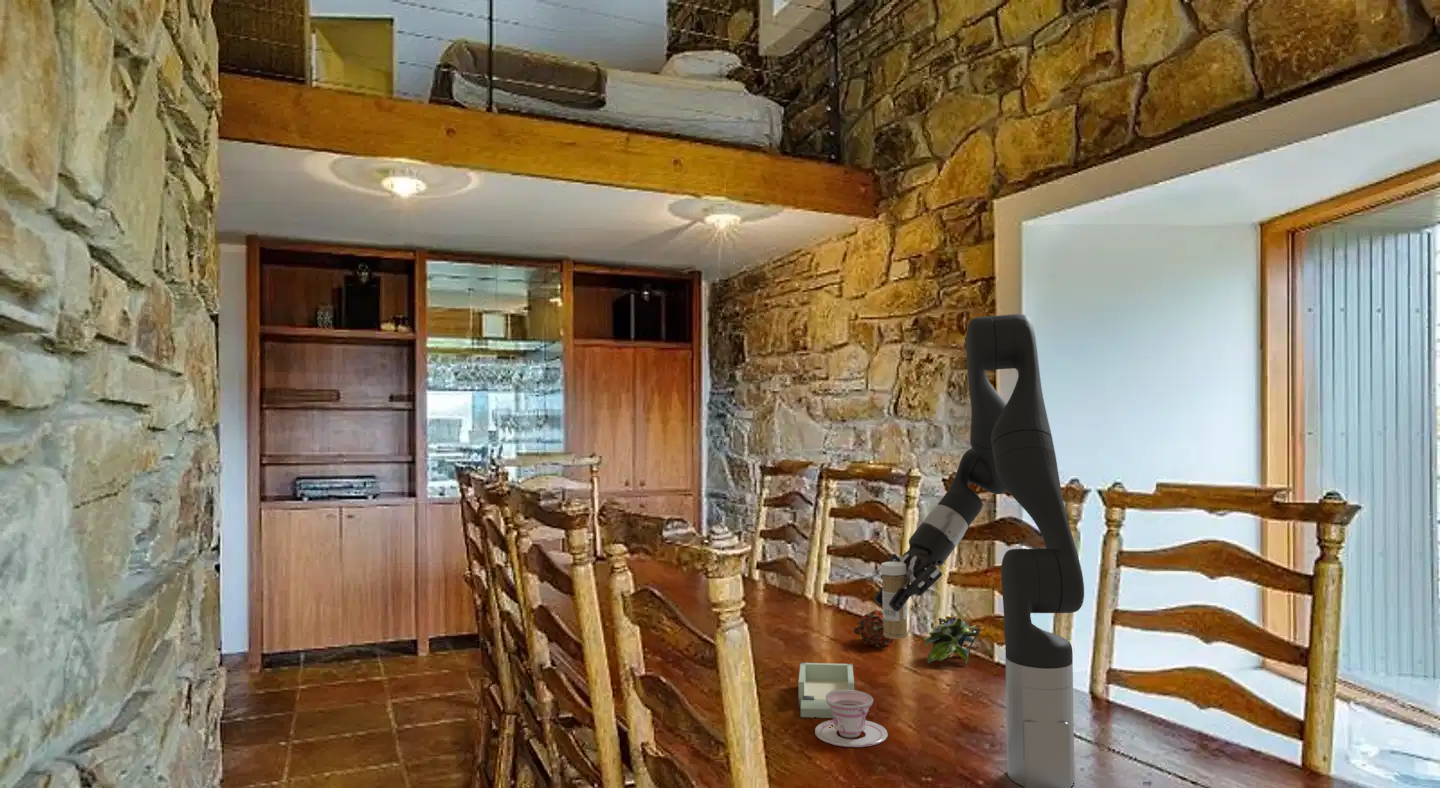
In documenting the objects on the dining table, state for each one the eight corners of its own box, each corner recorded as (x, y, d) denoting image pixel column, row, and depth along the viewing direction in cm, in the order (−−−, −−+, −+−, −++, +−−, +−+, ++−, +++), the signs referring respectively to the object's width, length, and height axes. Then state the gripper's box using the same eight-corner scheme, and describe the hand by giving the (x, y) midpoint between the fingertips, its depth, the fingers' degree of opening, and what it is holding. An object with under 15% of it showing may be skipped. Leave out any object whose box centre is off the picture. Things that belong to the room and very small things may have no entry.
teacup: (802, 727, 149) (802, 691, 149) (864, 718, 153) (863, 682, 153) (836, 753, 138) (835, 714, 138) (901, 742, 142) (901, 704, 142)
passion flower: (947, 681, 189) (967, 631, 193) (979, 686, 179) (999, 633, 184) (907, 656, 187) (928, 605, 191) (938, 659, 177) (959, 606, 181)
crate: (855, 718, 152) (855, 692, 152) (797, 716, 153) (797, 691, 153) (852, 687, 169) (852, 664, 169) (800, 685, 170) (800, 662, 170)
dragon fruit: (883, 660, 192) (865, 653, 204) (911, 635, 194) (892, 629, 206) (860, 629, 192) (843, 624, 204) (888, 604, 194) (869, 600, 206)
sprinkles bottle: (913, 636, 160) (911, 563, 160) (894, 640, 158) (893, 566, 158) (895, 631, 164) (893, 559, 164) (877, 635, 162) (875, 562, 162)
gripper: (904, 517, 171) (852, 585, 166) (950, 526, 157) (894, 600, 153) (927, 542, 173) (876, 610, 168) (974, 553, 159) (920, 627, 155)
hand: (885, 605), depth 160 cm, fingers closed on sprinkles bottle, 4 cm apart
